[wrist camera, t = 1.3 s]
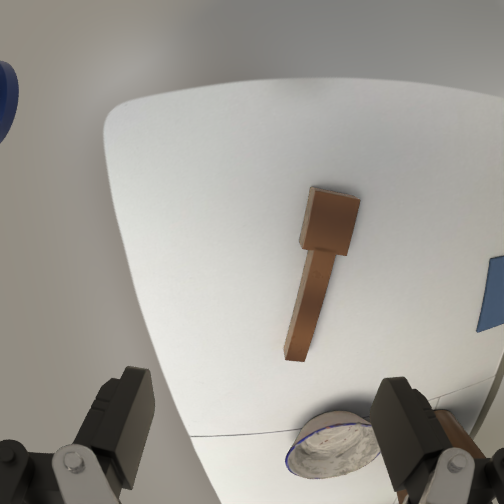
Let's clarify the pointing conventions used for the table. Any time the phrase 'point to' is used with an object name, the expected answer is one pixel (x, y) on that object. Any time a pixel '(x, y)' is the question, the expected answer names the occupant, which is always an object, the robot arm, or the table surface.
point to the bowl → (332, 446)
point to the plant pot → (452, 440)
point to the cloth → (493, 296)
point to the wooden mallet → (319, 261)
